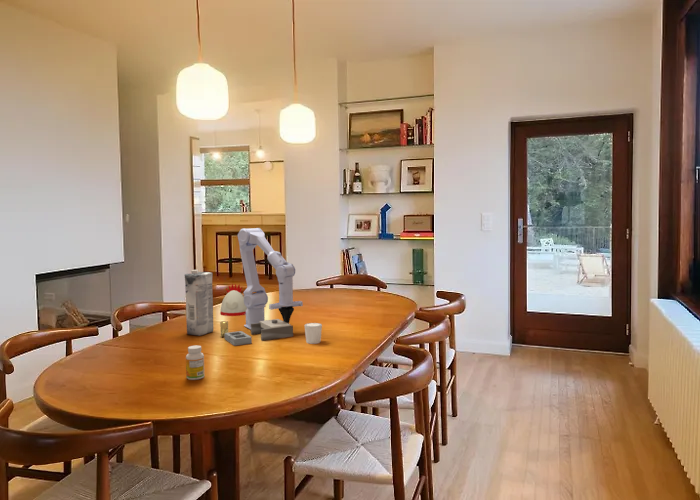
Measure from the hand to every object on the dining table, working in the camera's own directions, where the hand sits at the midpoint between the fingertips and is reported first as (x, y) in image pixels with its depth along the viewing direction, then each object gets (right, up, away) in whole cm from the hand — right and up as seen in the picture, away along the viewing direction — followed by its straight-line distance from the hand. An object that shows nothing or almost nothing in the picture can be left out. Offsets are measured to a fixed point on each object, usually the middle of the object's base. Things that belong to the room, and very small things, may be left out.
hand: (286, 324), depth 219 cm
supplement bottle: (-22, -9, -57) cm, 61 cm away
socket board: (-18, -5, -13) cm, 22 cm away
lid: (-5, -1, -3) cm, 5 cm away
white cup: (+12, -5, -14) cm, 20 cm away
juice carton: (-37, -4, +1) cm, 37 cm away
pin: (-25, -4, -4) cm, 26 cm away
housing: (-6, -4, -3) cm, 8 cm away
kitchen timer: (-32, -1, +43) cm, 53 cm away
